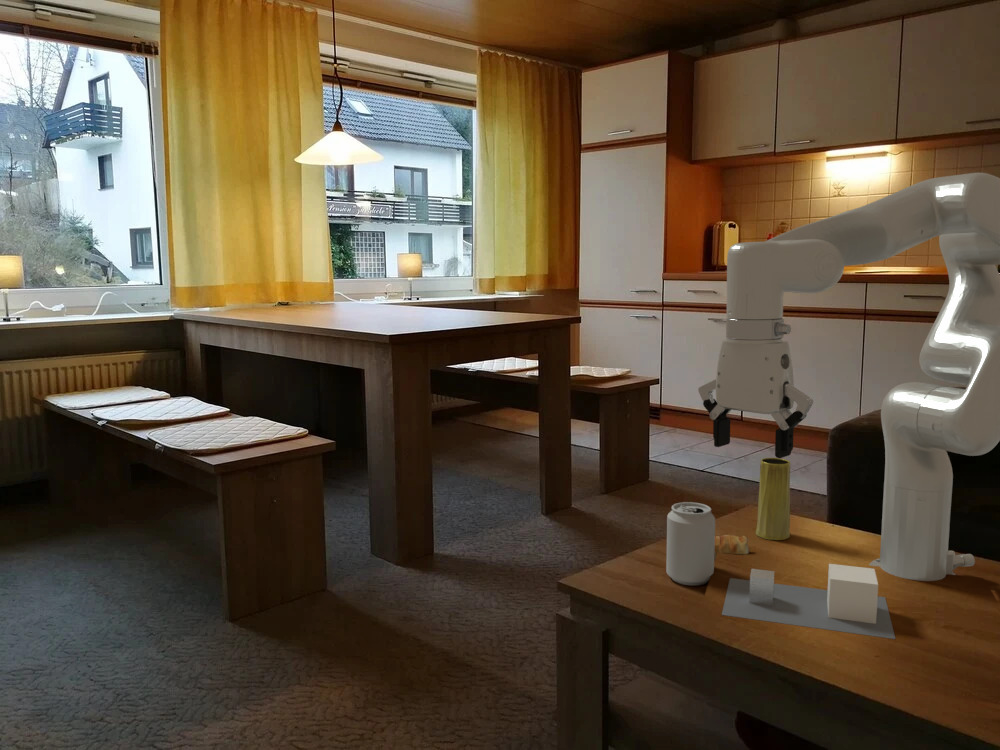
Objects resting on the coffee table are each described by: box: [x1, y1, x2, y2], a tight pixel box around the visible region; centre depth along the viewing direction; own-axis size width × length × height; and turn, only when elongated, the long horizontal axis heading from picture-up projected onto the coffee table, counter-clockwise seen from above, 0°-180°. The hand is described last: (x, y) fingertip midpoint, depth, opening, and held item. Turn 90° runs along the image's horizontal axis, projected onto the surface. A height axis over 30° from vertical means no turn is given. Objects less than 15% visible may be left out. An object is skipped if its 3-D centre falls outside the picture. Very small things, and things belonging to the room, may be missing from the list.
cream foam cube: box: [827, 563, 879, 624], centre depth 111 cm, size 6×6×6 cm
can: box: [665, 501, 716, 586], centre depth 127 cm, size 8×8×12 cm
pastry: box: [714, 534, 750, 560], centre depth 138 cm, size 9×7×4 cm
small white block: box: [749, 568, 775, 606], centre depth 115 cm, size 3×3×4 cm
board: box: [721, 577, 896, 640], centre depth 114 cm, size 22×14×2 cm, turn 69°
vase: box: [755, 457, 791, 541], centre depth 147 cm, size 6×6×14 cm
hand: (751, 450), depth 113 cm, fingers open, 9 cm apart
